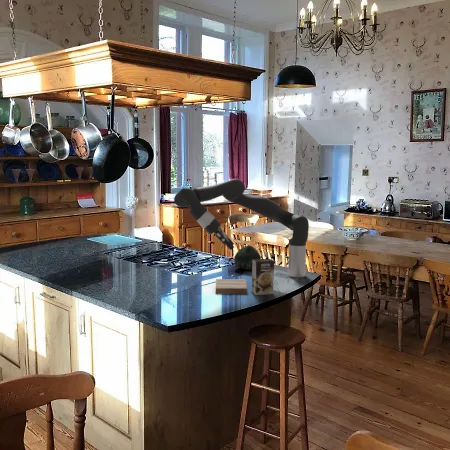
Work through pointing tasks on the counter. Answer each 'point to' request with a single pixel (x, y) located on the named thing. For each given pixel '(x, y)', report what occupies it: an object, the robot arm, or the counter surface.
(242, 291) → the wooden board
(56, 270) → the counter surface
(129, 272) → the counter surface
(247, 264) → the squash
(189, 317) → the counter surface
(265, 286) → the coffee box
